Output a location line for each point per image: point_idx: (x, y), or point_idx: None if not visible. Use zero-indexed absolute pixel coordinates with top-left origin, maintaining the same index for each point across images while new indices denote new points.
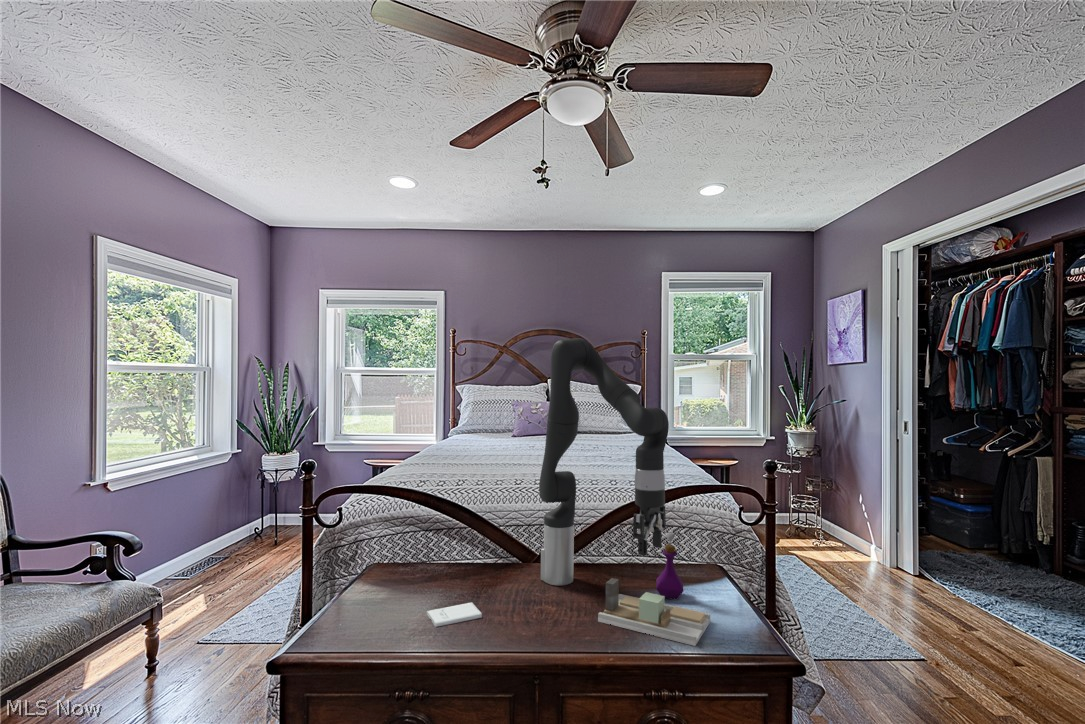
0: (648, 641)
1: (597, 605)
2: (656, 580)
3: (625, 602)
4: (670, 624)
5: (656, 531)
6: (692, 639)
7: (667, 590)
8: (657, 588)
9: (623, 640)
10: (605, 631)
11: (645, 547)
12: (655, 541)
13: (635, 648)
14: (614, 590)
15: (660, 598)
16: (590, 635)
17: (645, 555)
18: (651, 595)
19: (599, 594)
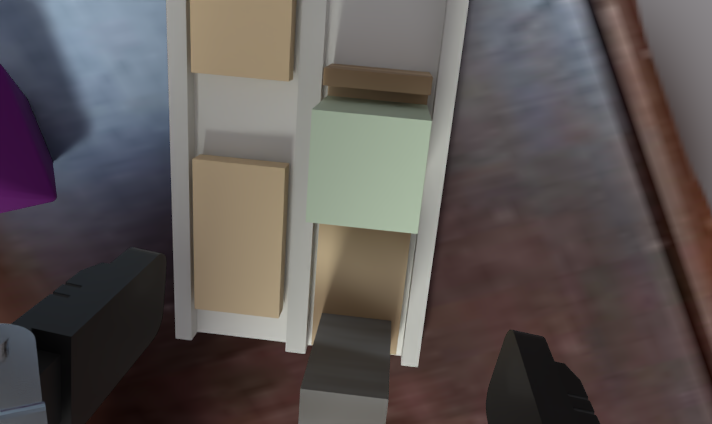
0: (514, 121)
1: (275, 386)
2: None
3: (269, 294)
4: (347, 58)
5: (50, 404)
6: None
7: (36, 145)
8: (53, 195)
9: (544, 218)
10: (492, 301)
11: (560, 395)
12: (134, 333)
13: (598, 157)
14: (366, 370)
15: (357, 124)
16: (548, 342)
17: (540, 338)
18: (338, 182)
19: (171, 405)
